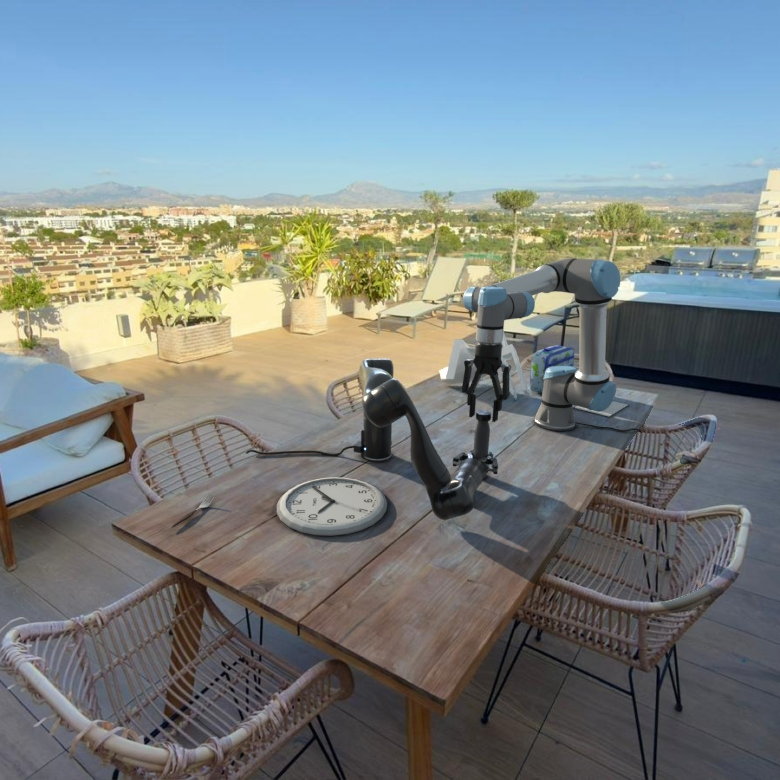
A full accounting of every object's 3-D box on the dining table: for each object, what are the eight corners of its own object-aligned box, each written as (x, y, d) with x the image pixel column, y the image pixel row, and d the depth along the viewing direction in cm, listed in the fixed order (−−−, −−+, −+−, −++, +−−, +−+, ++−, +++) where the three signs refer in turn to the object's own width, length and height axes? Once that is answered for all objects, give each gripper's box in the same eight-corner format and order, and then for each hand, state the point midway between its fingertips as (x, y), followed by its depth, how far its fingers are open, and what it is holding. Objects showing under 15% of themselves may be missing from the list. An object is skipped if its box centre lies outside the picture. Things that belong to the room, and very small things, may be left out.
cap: (493, 419, 156) (494, 413, 155) (484, 422, 153) (484, 416, 152) (482, 415, 159) (482, 409, 158) (472, 418, 156) (473, 412, 155)
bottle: (483, 472, 164) (488, 411, 158) (488, 478, 160) (493, 417, 154) (469, 473, 163) (474, 412, 157) (474, 479, 159) (478, 417, 153)
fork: (167, 528, 130) (166, 521, 130) (209, 498, 145) (208, 492, 144) (175, 530, 130) (174, 523, 129) (216, 500, 144) (216, 494, 143)
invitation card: (608, 416, 214) (573, 407, 224) (608, 416, 214) (573, 408, 224) (628, 404, 229) (594, 396, 238) (628, 405, 229) (594, 397, 238)
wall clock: (392, 527, 129) (268, 531, 127) (391, 533, 130) (269, 537, 127) (383, 473, 158) (282, 475, 155) (383, 478, 158) (282, 480, 156)
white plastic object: (461, 429, 252) (437, 405, 227) (444, 352, 274) (420, 323, 250) (535, 404, 240) (518, 377, 215) (510, 326, 262) (492, 293, 237)
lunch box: (546, 398, 236) (551, 353, 229) (525, 393, 243) (529, 349, 237) (573, 387, 253) (579, 344, 247) (553, 382, 260) (558, 341, 254)
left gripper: (495, 468, 143) (506, 446, 158) (444, 459, 148) (460, 438, 163) (492, 493, 145) (504, 468, 160) (443, 483, 151) (459, 460, 166)
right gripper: (526, 344, 147) (519, 420, 154) (462, 336, 157) (458, 408, 164) (518, 349, 141) (510, 428, 148) (452, 340, 151) (448, 415, 157)
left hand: (482, 453), depth 162 cm, fingers closed on bottle, 4 cm apart
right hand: (483, 418), depth 156 cm, fingers open, 7 cm apart
